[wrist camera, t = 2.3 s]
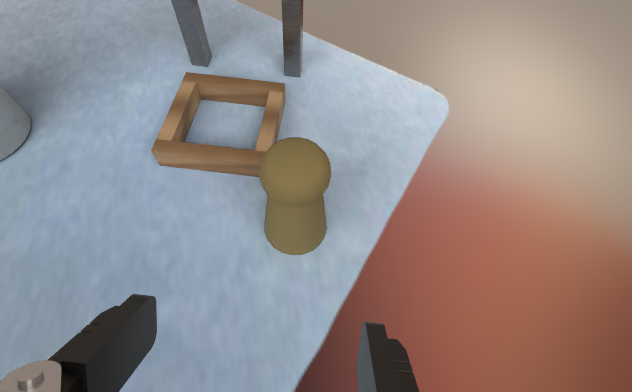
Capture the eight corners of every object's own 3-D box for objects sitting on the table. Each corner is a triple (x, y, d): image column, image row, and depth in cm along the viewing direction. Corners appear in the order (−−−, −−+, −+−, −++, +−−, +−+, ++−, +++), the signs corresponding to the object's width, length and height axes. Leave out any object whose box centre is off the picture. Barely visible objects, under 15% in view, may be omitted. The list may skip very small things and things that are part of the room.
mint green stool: (291, 123, 39) (287, -81, 22) (172, 110, 39) (76, -104, 22) (302, 66, 44) (305, -136, 27) (196, 54, 44) (133, -154, 27)
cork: (269, 195, 34) (259, 120, 24) (328, 201, 34) (341, 128, 24) (259, 251, 31) (242, 190, 21) (324, 258, 31) (336, 200, 21)
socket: (268, 178, 35) (266, 164, 33) (160, 165, 35) (151, 150, 33) (285, 99, 40) (284, 83, 38) (192, 89, 41) (186, 72, 38)
